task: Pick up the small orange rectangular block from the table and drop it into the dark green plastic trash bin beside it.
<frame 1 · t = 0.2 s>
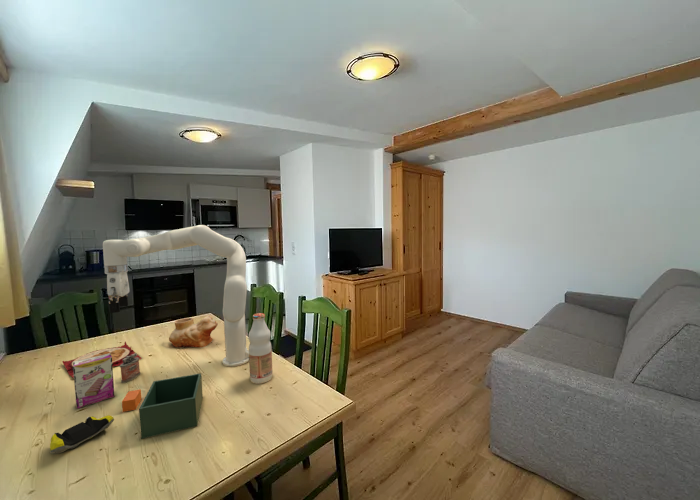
hand: (119, 309, 126), 31 cm above the table, tool pointing down, fingers open, 9 cm apart
candy bar box: (96, 400, 114), on the table
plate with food: (103, 362, 146), on the table
trash bin: (175, 416, 104), on the table
black and yellow piece: (80, 441, 92), on the table
ceramic vessel: (194, 343, 167), on the table
fruit juice: (261, 378, 128), on the table
red metal can: (131, 378, 130), on the table
orange rectangular block: (132, 405, 110), on the table
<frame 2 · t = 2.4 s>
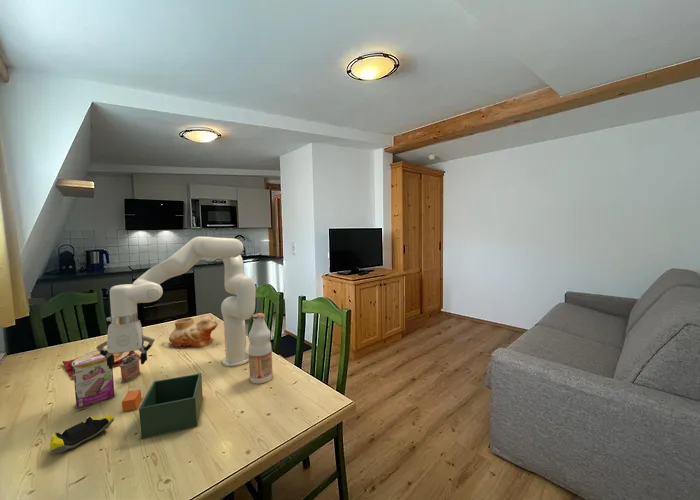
hand: (127, 365, 109), 16 cm above the table, tool pointing down, fingers open, 9 cm apart
nothing on the table moved.
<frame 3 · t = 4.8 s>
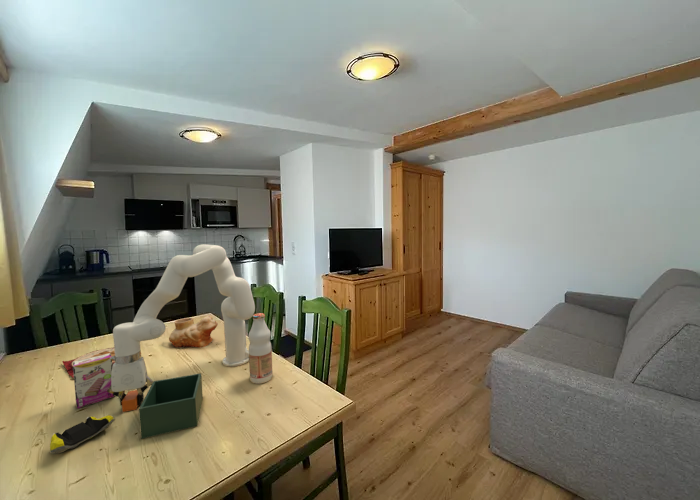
hand: (132, 404, 110), 0 cm above the table, tool pointing down, fingers closed on orange rectangular block, 4 cm apart
orange rectangular block: (132, 405, 110), on the table, touching gripper
everything else where it was.
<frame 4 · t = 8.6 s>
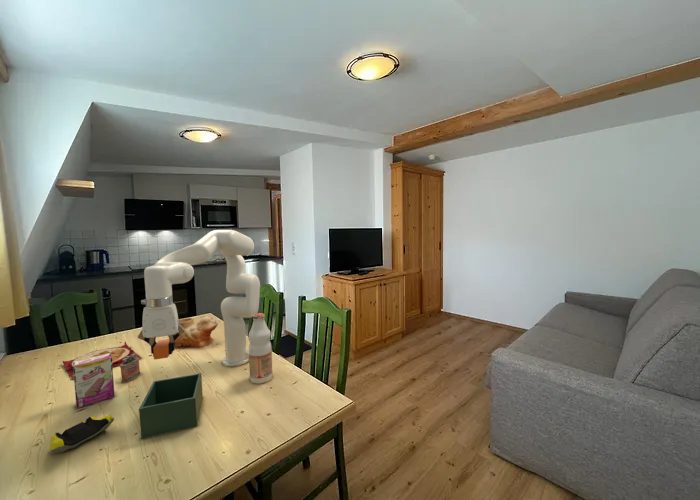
hand: (163, 353, 103), 22 cm above the table, tool pointing down, fingers closed on orange rectangular block, 4 cm apart
orange rectangular block: (163, 354, 103), point 22 cm above the table, touching gripper
everything else where it was.
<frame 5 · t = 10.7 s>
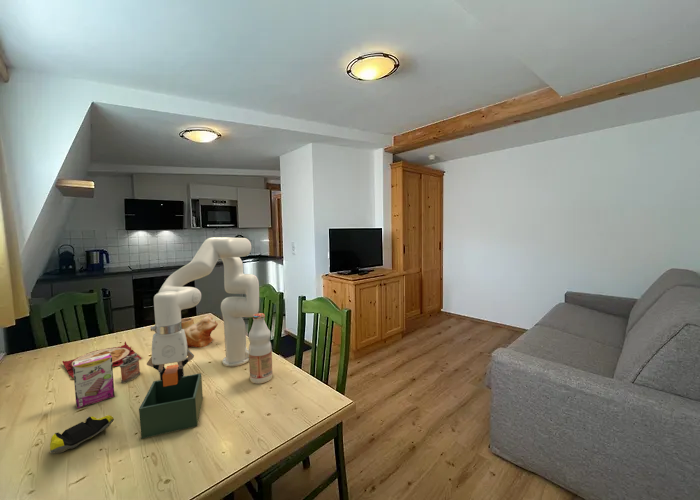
hand: (172, 379, 102), 13 cm above the table, tool pointing down, fingers closed on orange rectangular block, 4 cm apart
orange rectangular block: (172, 380, 102), point 13 cm above the table, touching gripper
everything else where it was.
when the fingers open (7 cm above the table, at t = 12.7 s): orange rectangular block drops 6 cm, resting on trash bin.
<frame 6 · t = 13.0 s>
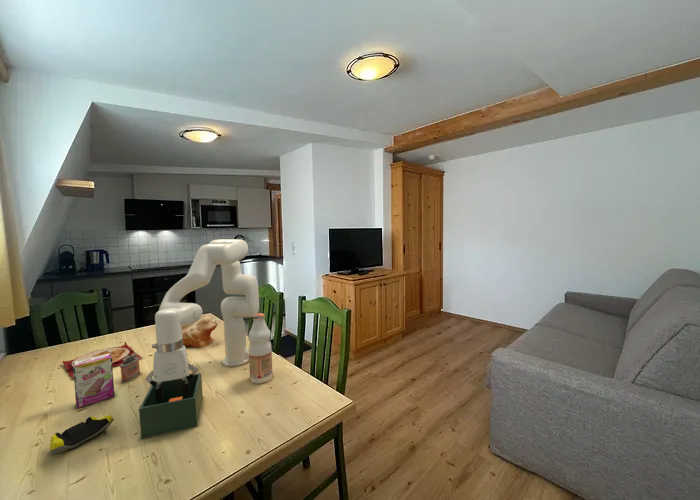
hand: (173, 395, 103), 8 cm above the table, tool pointing down, fingers open, 6 cm apart
orange rectangular block: (175, 413, 104), point 1 cm above the table, touching trash bin
everything else where it was.
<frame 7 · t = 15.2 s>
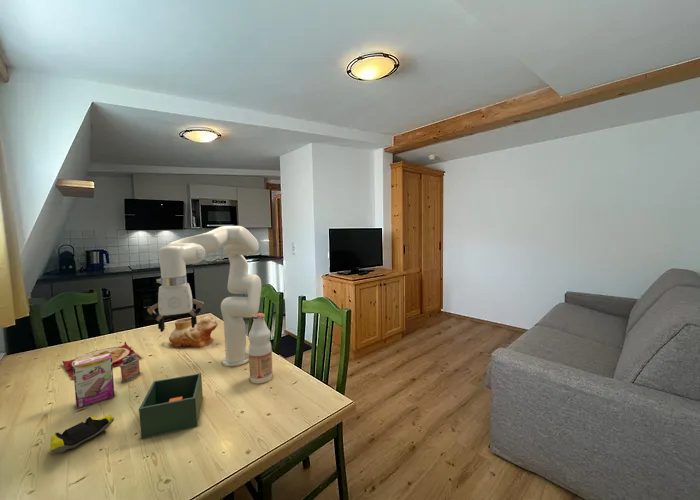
hand: (178, 328, 106), 30 cm above the table, tool pointing down, fingers open, 9 cm apart
nothing on the table moved.
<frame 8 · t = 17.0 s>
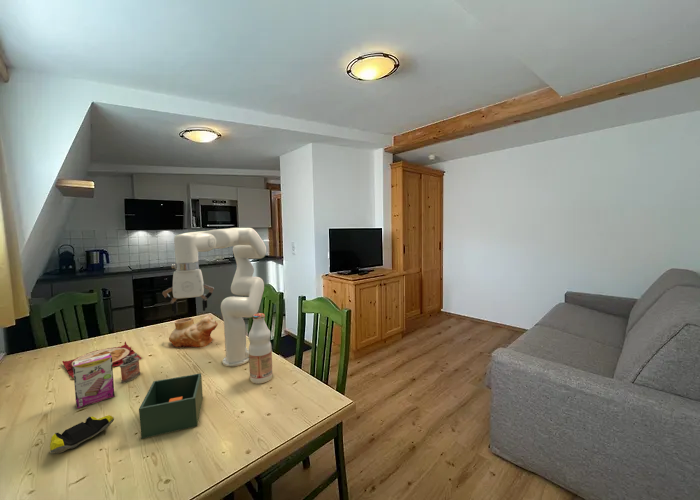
hand: (190, 311, 114), 33 cm above the table, tool pointing down, fingers open, 9 cm apart
nothing on the table moved.
at the end: orange rectangular block inside the target area in the trash bin (0.0 cm from its centre), point 0.8 cm above the trash bin's base; the gripper is holding nothing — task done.
